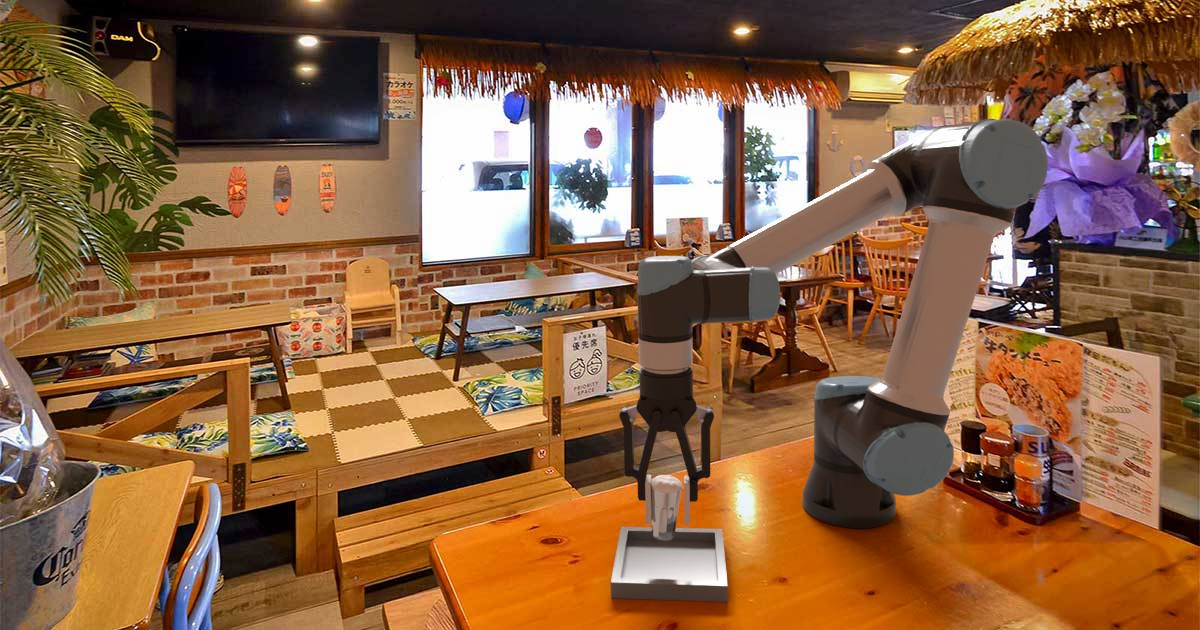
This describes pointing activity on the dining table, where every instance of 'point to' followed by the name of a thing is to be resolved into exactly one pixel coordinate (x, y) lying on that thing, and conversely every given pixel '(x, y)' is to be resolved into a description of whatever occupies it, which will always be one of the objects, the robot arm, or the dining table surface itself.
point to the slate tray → (670, 565)
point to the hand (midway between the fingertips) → (668, 520)
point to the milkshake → (665, 506)
